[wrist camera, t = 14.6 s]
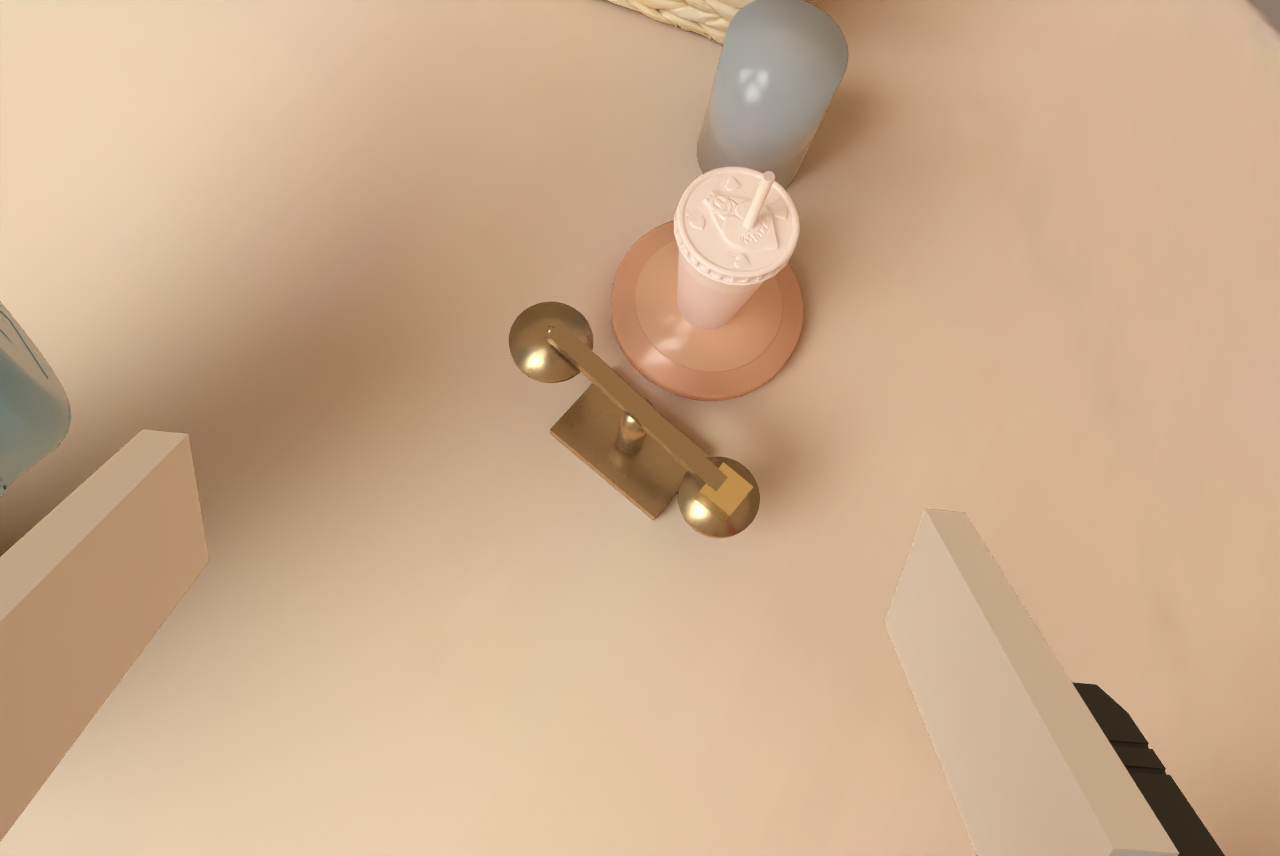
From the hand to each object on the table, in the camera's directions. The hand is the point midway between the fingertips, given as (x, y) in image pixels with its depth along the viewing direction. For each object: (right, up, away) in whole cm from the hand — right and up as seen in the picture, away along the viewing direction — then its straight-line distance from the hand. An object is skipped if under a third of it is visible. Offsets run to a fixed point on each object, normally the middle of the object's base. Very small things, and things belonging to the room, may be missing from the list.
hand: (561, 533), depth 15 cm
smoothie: (+6, +10, +35) cm, 37 cm away
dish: (+6, +9, +36) cm, 38 cm away
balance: (+1, +1, +33) cm, 33 cm away
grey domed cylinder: (+9, +20, +40) cm, 46 cm away
